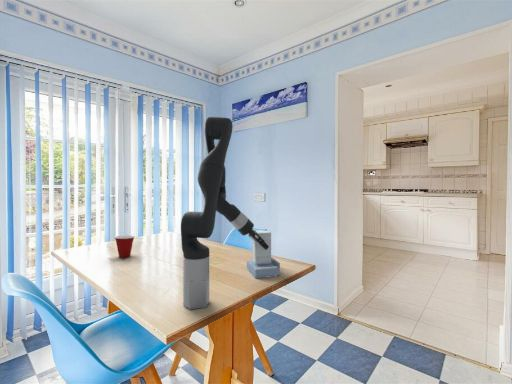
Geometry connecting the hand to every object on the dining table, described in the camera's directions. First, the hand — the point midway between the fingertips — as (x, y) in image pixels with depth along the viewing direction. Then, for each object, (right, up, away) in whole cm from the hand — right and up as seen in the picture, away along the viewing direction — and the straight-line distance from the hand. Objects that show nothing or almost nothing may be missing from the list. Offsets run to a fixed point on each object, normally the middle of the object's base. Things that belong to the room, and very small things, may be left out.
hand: (264, 246), depth 129 cm
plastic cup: (-81, -11, +25) cm, 85 cm away
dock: (-1, -13, 0) cm, 13 cm away
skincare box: (-2, -7, 0) cm, 8 cm away
